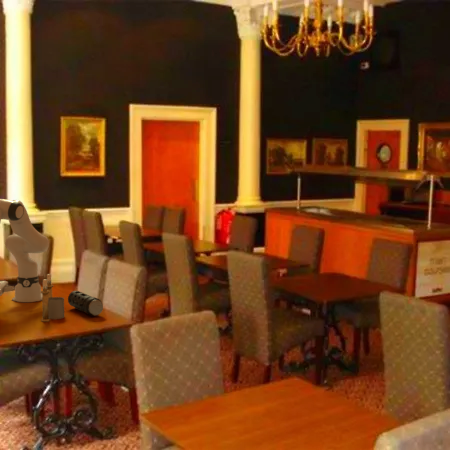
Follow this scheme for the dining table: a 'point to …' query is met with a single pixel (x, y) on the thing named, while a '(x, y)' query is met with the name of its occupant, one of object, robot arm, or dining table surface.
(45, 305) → the candlestick outer
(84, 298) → the muzzle brake
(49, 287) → the candlestick inner
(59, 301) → the cup
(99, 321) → the dining table surface
